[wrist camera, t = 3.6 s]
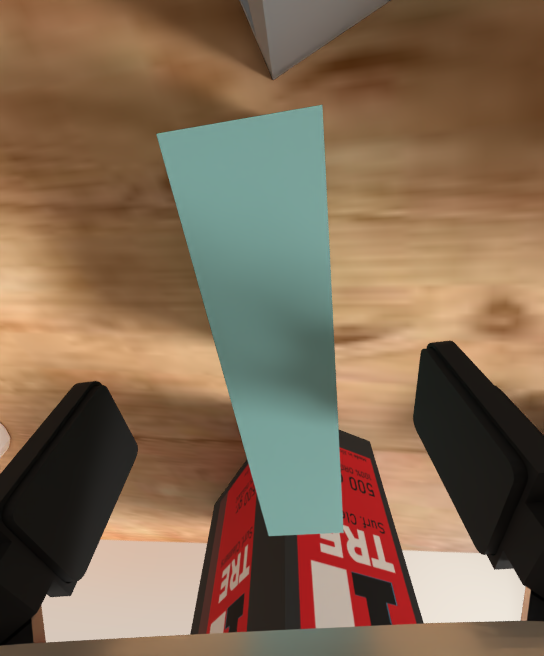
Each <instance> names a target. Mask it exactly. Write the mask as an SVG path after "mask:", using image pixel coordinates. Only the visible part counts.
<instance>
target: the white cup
mask: <svg viewBox="0 0 544 656" xmlns="http://www.w3.org/2000/svg"><path fill="white" fill-rule="evenodd" d="M9 445H10V436H9V434H8V432H7V430H6V428H5V427H4V426H3V425H2V424H1V423H0V458H1V457H2V455H3V454H4V453H5V452H6V451H7V449H8V448H9Z"/></svg>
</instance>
